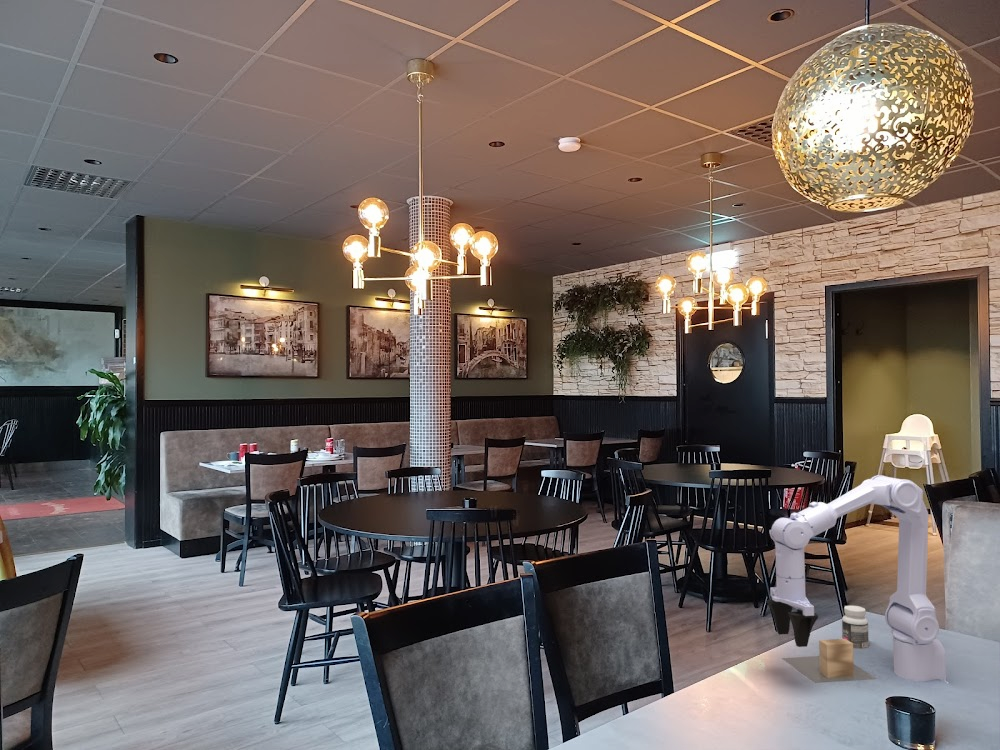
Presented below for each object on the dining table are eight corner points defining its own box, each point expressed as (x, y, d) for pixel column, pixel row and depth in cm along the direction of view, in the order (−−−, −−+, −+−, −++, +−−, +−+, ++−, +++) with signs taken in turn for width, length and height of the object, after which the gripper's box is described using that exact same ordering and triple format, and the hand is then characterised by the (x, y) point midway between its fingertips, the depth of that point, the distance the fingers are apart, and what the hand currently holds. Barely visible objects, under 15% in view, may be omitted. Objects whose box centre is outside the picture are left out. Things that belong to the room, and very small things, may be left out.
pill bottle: (839, 644, 177) (838, 604, 177) (863, 645, 176) (862, 605, 176) (847, 653, 171) (846, 611, 171) (872, 654, 170) (871, 612, 171)
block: (845, 670, 157) (844, 638, 157) (853, 676, 154) (853, 643, 154) (820, 672, 157) (819, 640, 157) (827, 677, 154) (826, 644, 154)
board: (839, 660, 167) (838, 654, 167) (877, 684, 153) (877, 678, 153) (782, 663, 165) (782, 658, 165) (815, 688, 151) (815, 682, 151)
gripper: (756, 568, 159) (758, 629, 159) (790, 585, 145) (792, 653, 144) (786, 566, 160) (788, 627, 160) (823, 583, 146) (824, 651, 145)
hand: (792, 639), depth 152 cm, fingers open, 7 cm apart
